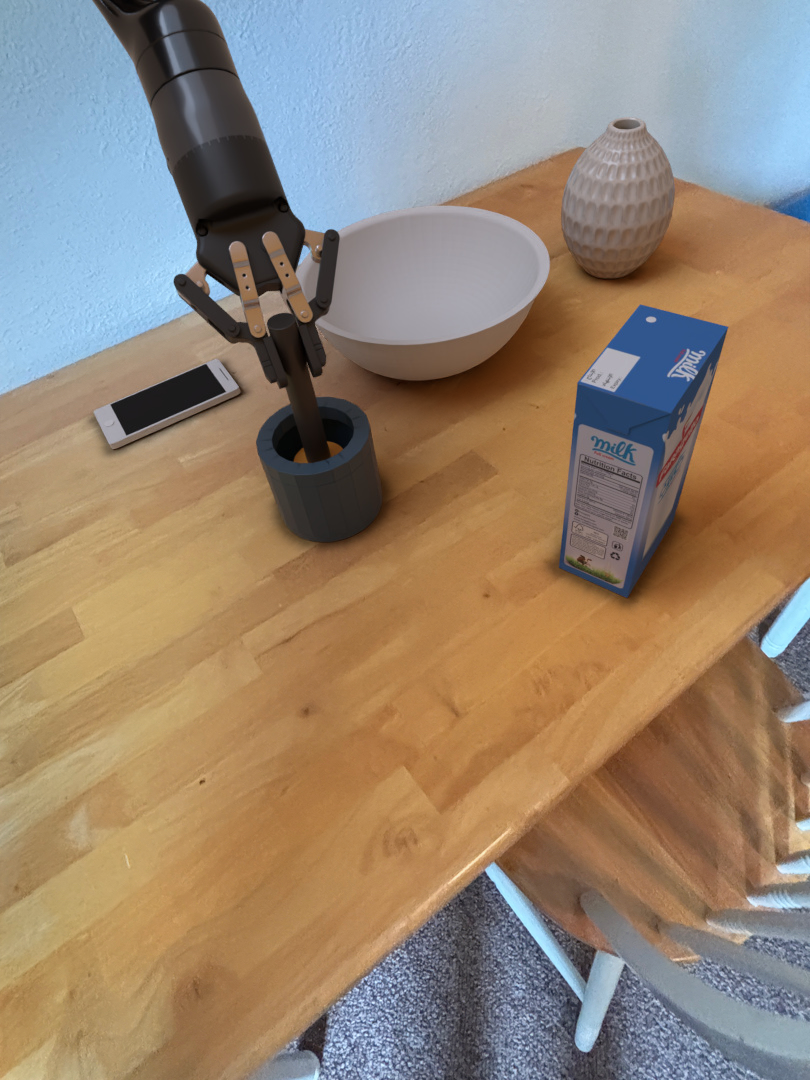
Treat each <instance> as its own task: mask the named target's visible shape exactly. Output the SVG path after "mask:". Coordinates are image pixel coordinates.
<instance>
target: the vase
mask: <svg viewBox="0 0 810 1080" xmlns="http://www.w3.org/2000/svg"><path fill="white" fill-rule="evenodd" d="M675 194H676V187H675V179H674V174H673V170H672V166H671V163H670V160H669V157H668V155H667V154H666V152H665V151H664V149H663V147H662V146H661V144H660V143H659V142H658V140H657V139H656V138H655V137H654V136H653V135H652V134H651V133H650V131H648V129H647V124H646V122H645V121H644V120H643V119H641V118H638V117H632V116H631V117H630V116H626V117H625V116H623V117H619V118H615V119H613V120H611V121H610V122H609V123H608V124H607V126H606V128H605V131H604V132H602V134H600V135H599V136H598V137H597V138H595V139H594V140H593V141H592V142H591V143H590V144H589V145H588V146H587V147H586V148H585V150H584V151H583V152H582V153H581V154H580V155H579V157H578V158H577V160H576V162H575V164H574V165H573V167H572V169H571V171H570V172H569V175H568V177H567V180H566V184H565V186H564V189H563V194H562V198H561V207H560V208H561V209H560V223H561V224H560V226H561V230H562V235H563V239H564V242H565V244H566V247H567V248H568V252H570V254H571V256H572V258H573V259H574V261H575V262H576V263H577V264H578V265H579V266H580V267H581V268H582V269H583V270H584V271H585V272H586V273H587V274H588V275H590V276H593V277H596V278H597V279H602V280H603V279H605V280H614V279H620V278H623V277H626V276H629V274H631V273H633V272H634V271H636V270H637V269H638V268H640V267H641V266H642V265H644V263H646V261H647V260H648V259H649V258H650V257H651V256H652V255H653V254H654V253H655V251H657V248H659V246H660V244H661V243H662V242H663V240H664V238H665V235H666V234H667V231H668V229H669V226H670V223H671V220H672V218H673V217H672V216H673V211H674V204H675V198H676V197H675V196H676V195H675Z"/></svg>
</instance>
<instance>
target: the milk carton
mask: <svg viewBox="0 0 810 1080" xmlns="http://www.w3.org/2000/svg"><path fill="white" fill-rule="evenodd" d="M728 329H729V326H727V325H723V324H720V323H715V322H711V321H708V320H704V319H700V318H695V317H691V316H688V315H684V314H680V313H676V312H671V311H669V310H664V309H661V308H657V307H653V306H649V305H644V304H639V305H638V306H637V308H636V309H635V310H634V311H633V312H632V314H631V315H630V316H629V318H627V320H626V321H625V322H624V324H622V326H621V328H620V329H618V331H617V332H616V333H615V335H614V336H613V337H612V339H610V341H609V343H608V344H607V345H606V346H605V348H604V349H603V350H602V351H601V352H600V354H599V355H598V356H597V357H596V358H595V360H594V361H593V363H592V364H591V365H590V366H589V367H588V369H586V371H585V372H584V374H583V375H582V376H581V377H580V379H579V380H577V383H576V384H577V386H576V395H575V405H574V414H573V423H572V432H571V433H572V434H571V436H572V437H571V444H570V453H569V462H568V463H569V465H568V472H567V473H568V474H567V481H566V492H565V494H566V495H565V502H564V503H565V504H564V512H563V513H564V514H563V524H562V533H561V544H560V552H559V562H558V569H561V570H563V571H565V572H568V573H570V574H572V575H574V576H576V577H579V578H581V579H583V580H584V581H585V580H586V581H587V582H590V583H591V584H594V585H597V586H599V587H602V588H603V589H606V590H608V591H610V592H612V593H615V594H617V595H619V596H622V597H624V598H626V599H628V598H629V596H630V594H632V591H633V589H634V587H635V586H636V584H637V582H638V581H639V579H640V578H641V576H642V574H643V572H644V570H645V569H646V567H647V566H648V564H649V562H650V561H651V559H652V558H653V556H654V554H655V552H656V550H657V549H658V547H659V546H660V544H661V542H662V540H663V539H664V537H665V535H666V533H667V532H668V530H669V528H670V527H671V525H672V524H673V522H674V521H675V517H676V513H677V510H678V506H679V502H680V499H681V495H682V492H683V488H684V484H685V481H686V478H687V474H688V472H689V471H688V470H689V468H690V464H691V460H692V457H693V453H694V450H695V446H696V442H697V439H698V437H699V432H700V429H701V425H702V421H703V418H704V415H705V411H706V407H707V403H708V400H709V397H710V393H711V390H712V386H713V384H714V383H713V382H714V379H715V377H716V372H717V369H718V365H719V362H720V358H721V354H722V352H723V347H724V344H725V340H726V337H727V332H728Z"/></svg>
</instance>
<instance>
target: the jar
mask: <svg viewBox="0 0 810 1080" xmlns="http://www.w3.org/2000/svg"><path fill="white" fill-rule="evenodd" d="M316 400H317V404H318V408H319V411H320V415H321V419H322V423H323V427H324V431H325V435H326V439H327V441H329V442H333V443H336V444H338V445H339V446H341V447H342V448H343V450H342V451H341V452H339V453H338V454H336V455H334V456H332V457H330V458H328V459H326V460H323V461H319V462H315V463H297V462H294V458H295V456H296V454H297V453H298V452H299V451H300V450H301V449H302V448H303V445H302V442H301V438H300V435H299V432H298V428H297V425H296V421H295V418H294V415H293V411H292V408H291V405H290V403H289V404H287V405H285V406H283V407H281V408H279V409H278V410H276V412H274V413H273V414H271V415H270V416H269V417H268V418H267V419H266V420H265V421H264V423H263V424H262V425H261V427H260V428H259V430H258V433H257V436H256V441H255V444H256V445H255V446H256V451H257V455H258V458H259V460H260V463H261V466H262V469H263V471H264V474H265V477H266V480H267V482H268V485H269V488H270V490H271V494H272V497H273V499H274V501H275V504H276V507H277V509H278V513H279V515H280V517H281V518H282V521H283V523H284V525H285V526H286V528H287V529H288V530H289V531H290V532H292V534H294V535H296V536H297V537H299V538H301V539H303V540H306V541H309V542H315V543H332V542H338V541H343V540H346V539H348V538H351V537H353V536H355V535H357V534H359V533H361V532H362V531H364V530H365V529H366V528H367V527H369V526H370V525H371V524H372V523H373V522H374V521H375V519H376V518H377V516H378V515H379V513H380V511H381V508H382V505H383V497H384V496H383V487H382V482H381V481H382V480H381V475H380V471H379V466H378V461H377V460H378V459H377V455H376V451H375V450H376V449H375V445H374V439H373V434H372V429H371V424H370V421H369V419H368V416H367V414H366V413H365V412H364V411H363V410H362V409H361V408H360V406H359V405H358V404H356V403H353V402H351V401H349V400H347V399H344V398H340V397H335V396H316Z"/></svg>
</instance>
